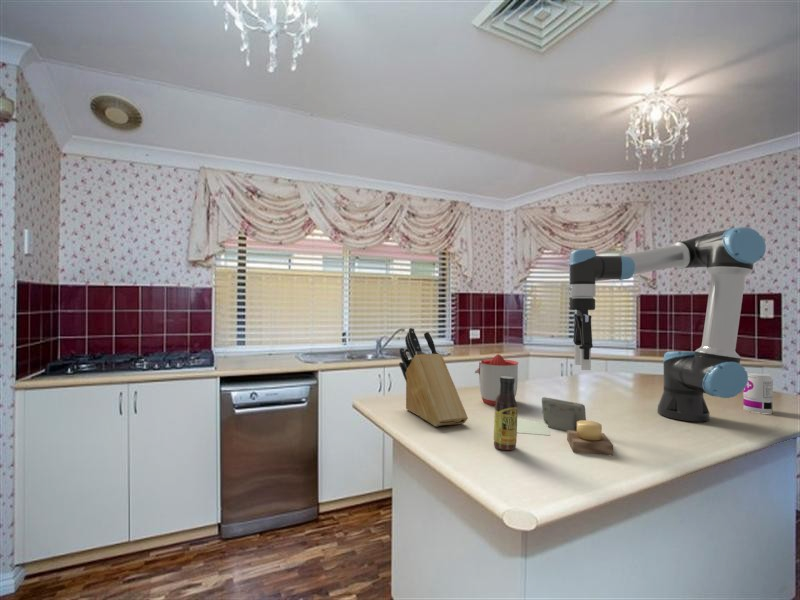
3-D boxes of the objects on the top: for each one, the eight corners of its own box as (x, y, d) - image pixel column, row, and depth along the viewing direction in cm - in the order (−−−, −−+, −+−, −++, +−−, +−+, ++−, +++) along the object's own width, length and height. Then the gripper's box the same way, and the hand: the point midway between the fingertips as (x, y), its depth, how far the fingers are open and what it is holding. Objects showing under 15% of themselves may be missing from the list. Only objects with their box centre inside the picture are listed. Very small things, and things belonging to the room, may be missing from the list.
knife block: (421, 401, 164) (422, 326, 164) (468, 426, 132) (469, 332, 132) (396, 404, 160) (396, 326, 160) (438, 430, 127) (439, 333, 127)
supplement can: (748, 416, 147) (749, 375, 147) (739, 410, 155) (739, 371, 155) (777, 418, 144) (777, 377, 144) (766, 412, 152) (766, 373, 152)
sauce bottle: (502, 453, 109) (503, 380, 109) (489, 445, 115) (489, 376, 115) (522, 449, 112) (522, 378, 112) (507, 442, 117) (508, 374, 117)
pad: (544, 420, 140) (544, 419, 140) (550, 436, 123) (550, 435, 123) (505, 417, 143) (505, 416, 143) (506, 432, 126) (506, 431, 126)
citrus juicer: (477, 397, 173) (477, 350, 173) (519, 400, 167) (519, 352, 167) (471, 405, 158) (471, 355, 158) (516, 410, 152) (517, 357, 152)
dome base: (603, 443, 117) (603, 433, 117) (613, 456, 107) (613, 444, 107) (567, 440, 120) (567, 430, 120) (573, 452, 110) (573, 441, 110)
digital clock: (588, 431, 128) (589, 402, 128) (577, 435, 123) (578, 406, 123) (549, 420, 139) (550, 393, 139) (536, 423, 134) (537, 396, 134)
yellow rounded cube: (598, 442, 116) (598, 421, 116) (604, 450, 110) (604, 428, 110) (574, 440, 117) (574, 419, 117) (578, 448, 111) (579, 426, 111)
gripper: (564, 298, 141) (564, 361, 141) (576, 297, 119) (576, 372, 119) (587, 298, 139) (587, 362, 139) (603, 297, 117) (603, 373, 117)
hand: (582, 367), depth 129 cm, fingers open, 10 cm apart
